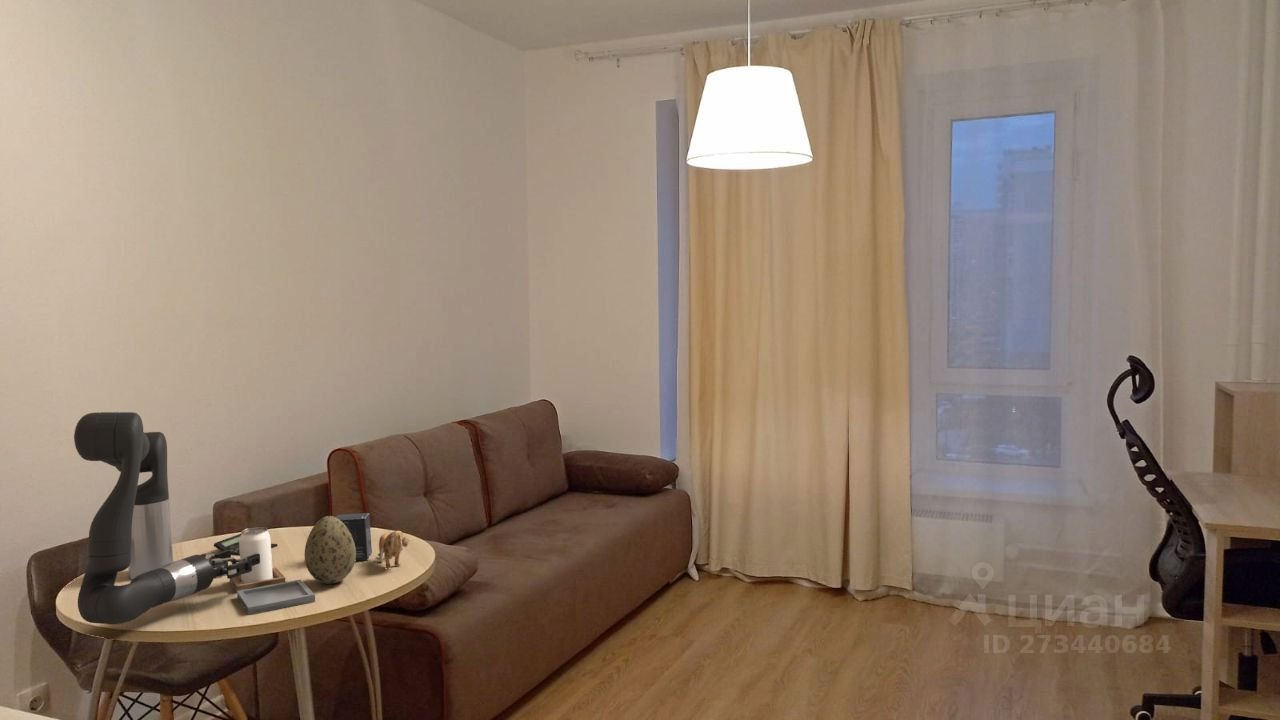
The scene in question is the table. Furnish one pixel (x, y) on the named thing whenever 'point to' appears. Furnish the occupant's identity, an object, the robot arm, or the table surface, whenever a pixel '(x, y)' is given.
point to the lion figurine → (392, 547)
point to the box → (359, 533)
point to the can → (256, 544)
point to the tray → (275, 596)
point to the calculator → (232, 545)
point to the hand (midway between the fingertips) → (244, 556)
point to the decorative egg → (330, 551)
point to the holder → (277, 579)
